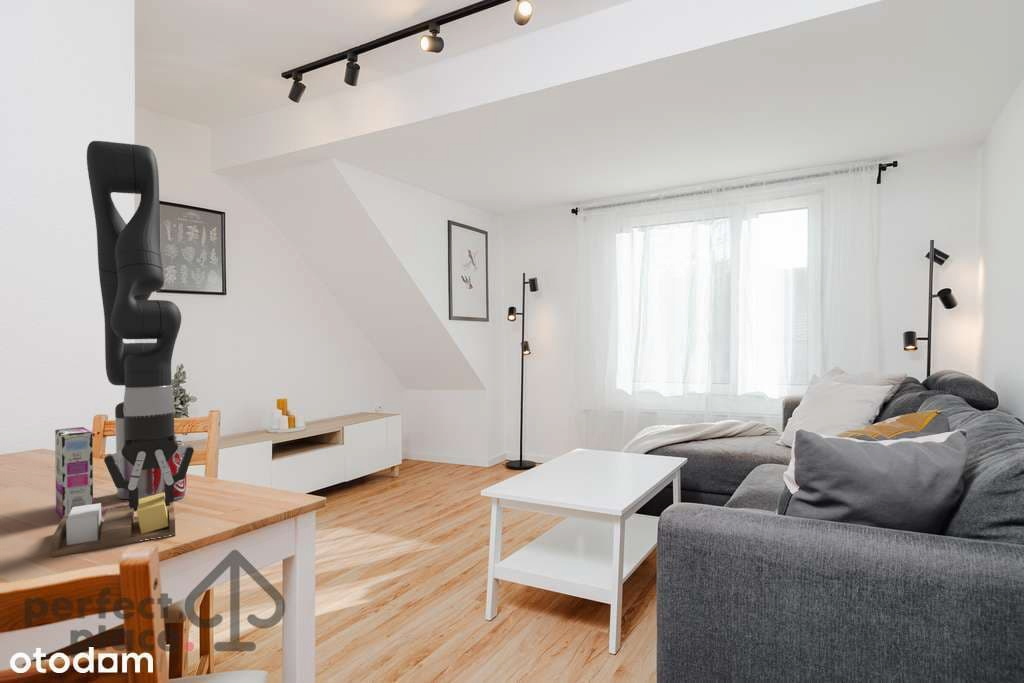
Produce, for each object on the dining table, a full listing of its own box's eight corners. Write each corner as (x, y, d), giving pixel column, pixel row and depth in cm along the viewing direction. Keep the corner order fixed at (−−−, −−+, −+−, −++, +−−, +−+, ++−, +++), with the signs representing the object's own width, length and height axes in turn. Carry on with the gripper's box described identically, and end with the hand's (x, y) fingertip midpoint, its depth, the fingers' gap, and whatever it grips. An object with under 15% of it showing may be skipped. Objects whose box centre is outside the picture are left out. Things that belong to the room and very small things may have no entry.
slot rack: (63, 532, 100) (63, 516, 100) (173, 514, 109) (172, 500, 109) (51, 557, 88) (51, 539, 88) (175, 535, 97) (174, 519, 97)
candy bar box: (95, 516, 109) (93, 431, 109) (62, 522, 106) (60, 434, 105) (86, 505, 117) (84, 425, 117) (55, 510, 114) (53, 428, 113)
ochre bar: (143, 519, 104) (138, 498, 103) (168, 512, 106) (164, 492, 105) (141, 534, 96) (136, 511, 96) (168, 526, 98) (164, 503, 98)
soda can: (185, 492, 125) (183, 438, 125) (188, 499, 120) (187, 442, 120) (151, 498, 121) (150, 442, 121) (153, 504, 116) (152, 446, 116)
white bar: (73, 529, 99) (72, 507, 99) (101, 525, 101) (101, 503, 101) (66, 545, 91) (66, 520, 91) (97, 540, 93) (97, 515, 93)
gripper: (194, 406, 108) (196, 496, 108) (102, 413, 100) (104, 509, 100) (196, 410, 102) (198, 505, 102) (98, 417, 94) (101, 520, 94)
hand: (152, 507), depth 101 cm, fingers closed on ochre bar, 4 cm apart
